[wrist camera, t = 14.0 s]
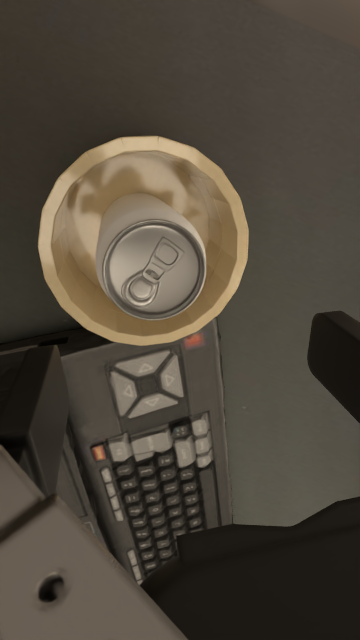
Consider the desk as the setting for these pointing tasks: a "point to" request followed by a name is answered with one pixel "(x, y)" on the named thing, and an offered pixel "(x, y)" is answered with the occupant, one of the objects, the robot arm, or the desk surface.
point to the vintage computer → (141, 440)
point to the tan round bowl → (170, 187)
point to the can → (149, 258)
